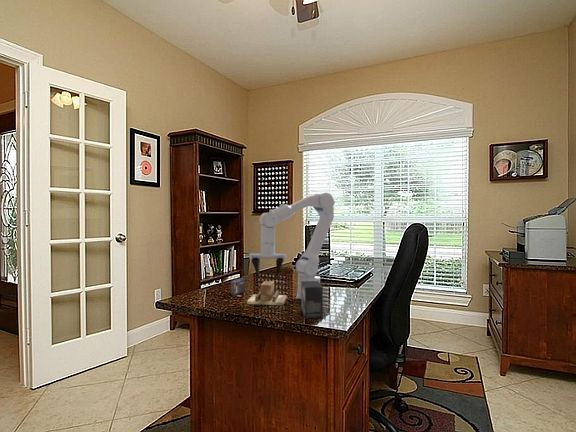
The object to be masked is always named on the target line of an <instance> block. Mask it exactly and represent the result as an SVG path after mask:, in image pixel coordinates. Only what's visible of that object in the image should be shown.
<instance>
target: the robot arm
mask: <svg viewBox="0 0 576 432" xmlns="http://www.w3.org/2000/svg"><path fill="white" fill-rule="evenodd" d="M335 203H336V202H335V199H334V197H333V195H332V194H331V193H329V192H323V193H315V194H313V195H312V194H311V195H308V196H305V197H304V198H302V199H300V200H298V201H296V202H294V203H292V204H290V205H289V204H286V203H285V204H283V203H282V204H279V206H278V207H276V208H274V209H269V212H263V213H262V214H261V215H260V216H259V219H258V223H259V225H260V253H259V252H258V253H257V252H256V253H255V252H254V253H249V255H248V259H249V260H251V263H252V265H253V268H254V271H255V273H256V274H255V275H256V278H259V277H260V263H261V259H262V260H264V259H265V260H275V267H276V268H275V269H276V272H275V278H276V279H278V278H279V276H280V270H281V268H282V265H283V263H284V261H285V260H287V254H286V253H276V226H277V224H280V223H281V222H283V221H285V220H288V219H290V218H291V217H292V216H293V213H296V212H298V211H300V210H303V209H304V208H307V207H312V208H313V209H314V210H315V211H316V212H317V213H318V216H319V219H318V221H317V223H316V226H315V229H314V231H313V234H312V235H311V239H310V241H309V243H308V245H307V248H306V250H305V252H303V253H302V254H301V256H300V258H299V259H298V260H297V261H296V263H295V270H296V271H297V293H296V297H295V299H296V300H301V281H318V282H319V283H320V284H321V276H319V275H317V273H318V271H319V263H320V258H319V255H320V252H321V249H322V247H323V244H324V242H325V239H326V237H327V236H328V232H329V230H330V228H331V225H332V224H333V223H332V222H333V220H334V217H335V214H334V213H335V212H334V208H335V207H334V206H335Z"/></svg>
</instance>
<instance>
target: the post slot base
mask: <svg viewBox="0 0 576 432" xmlns="http://www.w3.org/2000/svg"><path fill="white" fill-rule="evenodd" d="M287 298H288V295H285V294H280V291H279V290H276V291H275V292H274V296H273V297H272V300H271V301H261V290H260V291H259V292H258V293H257V294H255V293H254V294H252V295H251V296H250V298H248V300H247V301H246V305H262V306H264V305H269V306H284V304H285V302H286V300H287Z"/></svg>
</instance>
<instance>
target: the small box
mask: <svg viewBox="0 0 576 432" xmlns="http://www.w3.org/2000/svg"><path fill="white" fill-rule="evenodd" d="M323 295H324V286H323V285H322V284H321V282H320V283H319V282H318V281H301V299H300V301H301V302H300V303H301V304H300V305H301V311H302V314H303V316H304V318H305V319H323V318H324V309H323V308H324V305H323V304H324V296H323Z"/></svg>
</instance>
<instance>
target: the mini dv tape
mask: <svg viewBox="0 0 576 432" xmlns="http://www.w3.org/2000/svg"><path fill="white" fill-rule="evenodd" d="M245 292H246V279H245V278H244V277H241V278H236V279H233V280H231V281H230V295H231V296H235V295H239V294H241V293H245Z"/></svg>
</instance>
